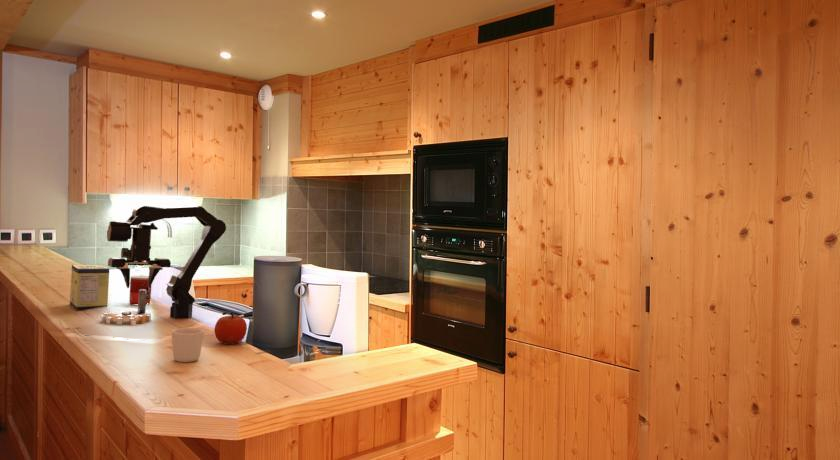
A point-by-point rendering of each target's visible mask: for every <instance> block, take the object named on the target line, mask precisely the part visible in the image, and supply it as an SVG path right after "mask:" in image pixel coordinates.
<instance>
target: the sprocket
mask: <svg viewBox="0 0 840 460" xmlns="http://www.w3.org/2000/svg"><path fill="white" fill-rule="evenodd" d="M146 292H147V290H139V297H138V305H137V311H136V310H129V311H128V310H126V311H124V310H118V311H109V312H107V313H101V315H100V316H101V317H100V322H101V323H105V324H107V325H112V324H114V325H117V326H118V325H119V326H122V325H130V326H132V325H131V321H136V324H146V323H147V322H151V320H152V319H151V317H152V314H151V313H150V312H146V307H147V305H146Z"/></svg>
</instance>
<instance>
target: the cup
mask: <svg viewBox="0 0 840 460" xmlns="http://www.w3.org/2000/svg"><path fill="white" fill-rule="evenodd" d="M204 332H205V331H204V329H202V328H196V327H180V328H176V329H173V330H172V331H171V342H172V344H171V345H172V357H173V359H174V361H176V362H179V363H191V362H195V361H197V360H199V359H200V356H201V351H202V346H203V339H204V334H205V333H204Z"/></svg>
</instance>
